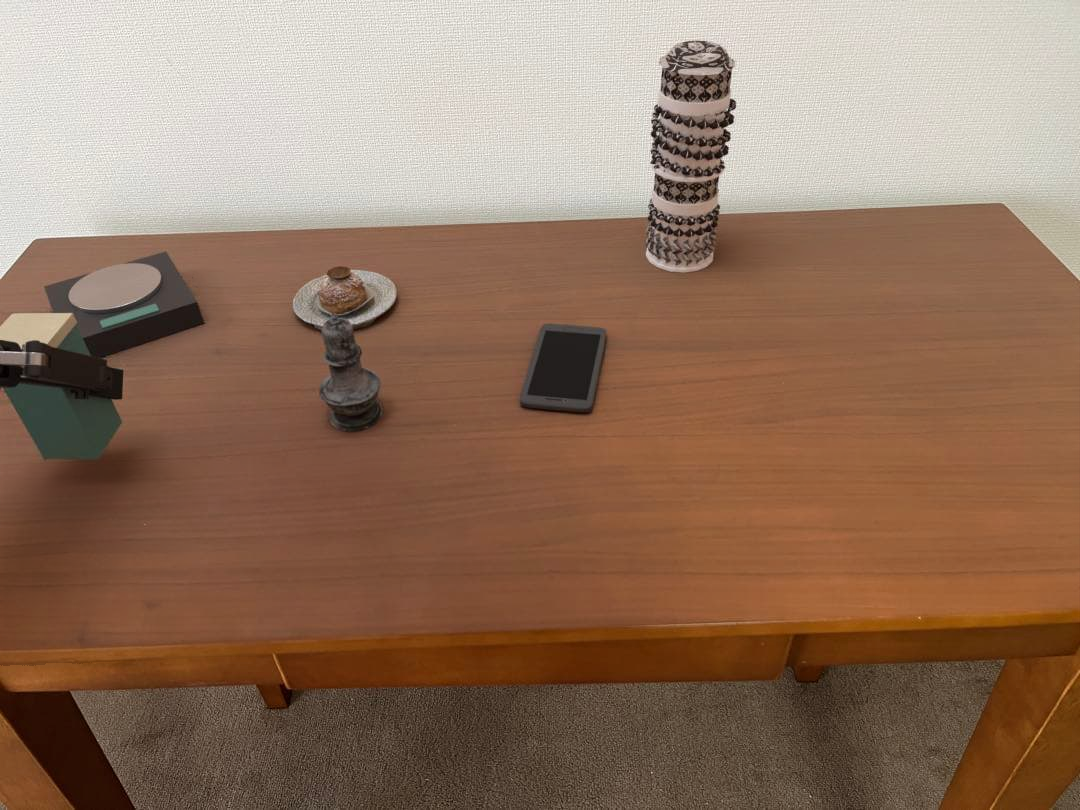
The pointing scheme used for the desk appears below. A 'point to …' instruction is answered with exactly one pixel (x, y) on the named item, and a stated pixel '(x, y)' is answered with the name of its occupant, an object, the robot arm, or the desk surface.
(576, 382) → the cell phone
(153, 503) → the desk surface
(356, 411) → the dark grey piece
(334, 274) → the pastry
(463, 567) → the desk surface
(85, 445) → the spice tin
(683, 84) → the decorative candle
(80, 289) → the scale pan
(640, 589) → the desk surface
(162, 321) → the scale
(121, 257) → the desk surface
